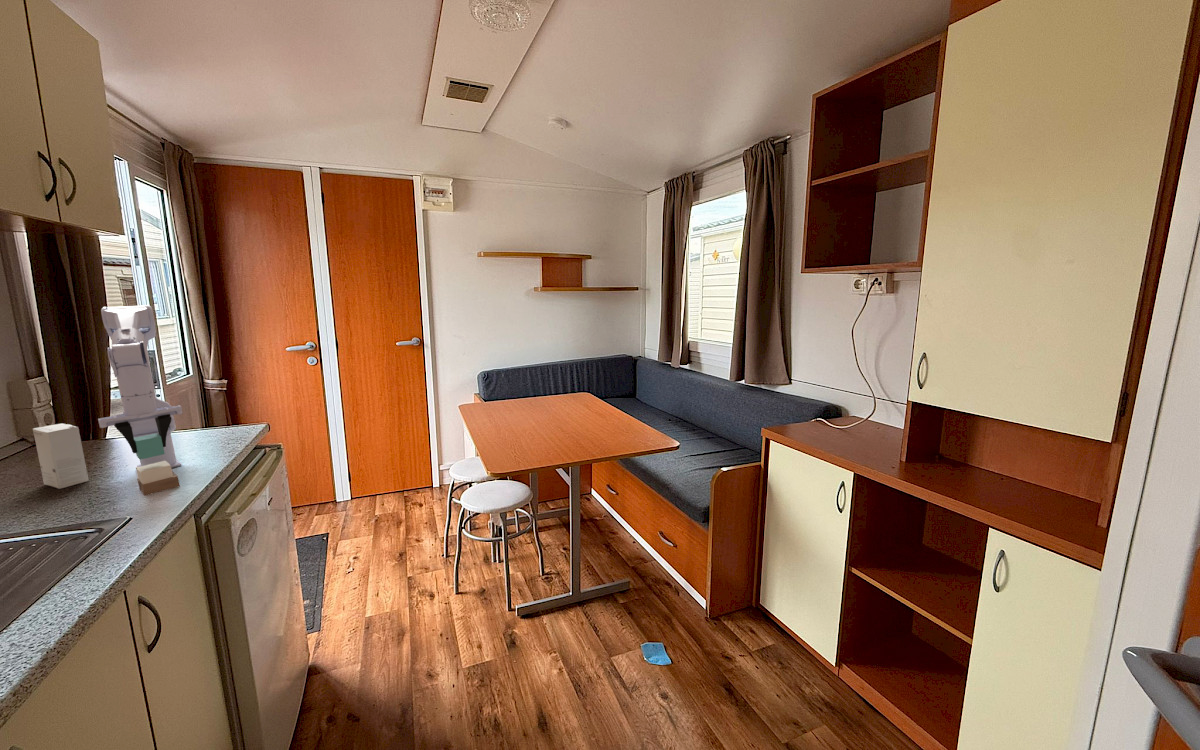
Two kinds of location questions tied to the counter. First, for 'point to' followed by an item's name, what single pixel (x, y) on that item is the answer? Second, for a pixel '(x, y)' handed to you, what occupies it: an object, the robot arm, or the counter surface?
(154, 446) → the teal block
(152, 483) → the walnut base slab
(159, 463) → the cream middle slab
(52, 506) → the counter surface
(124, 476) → the counter surface
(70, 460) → the skincare box
